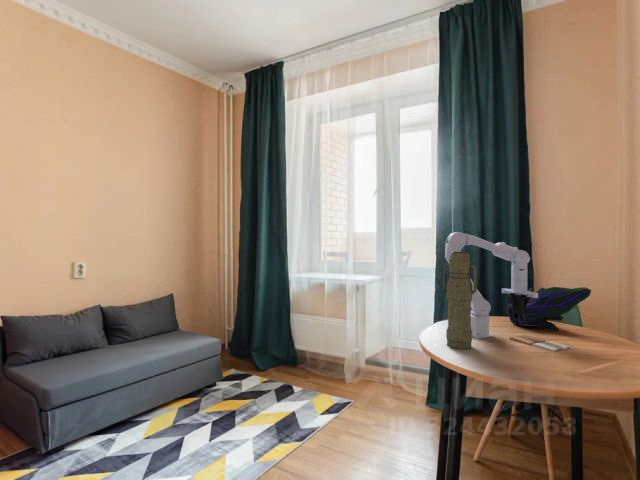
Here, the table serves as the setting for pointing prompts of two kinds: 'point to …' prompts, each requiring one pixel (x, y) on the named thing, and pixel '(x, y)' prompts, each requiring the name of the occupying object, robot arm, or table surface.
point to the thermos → (459, 300)
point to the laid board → (550, 346)
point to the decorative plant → (548, 306)
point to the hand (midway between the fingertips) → (519, 313)
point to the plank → (526, 339)
